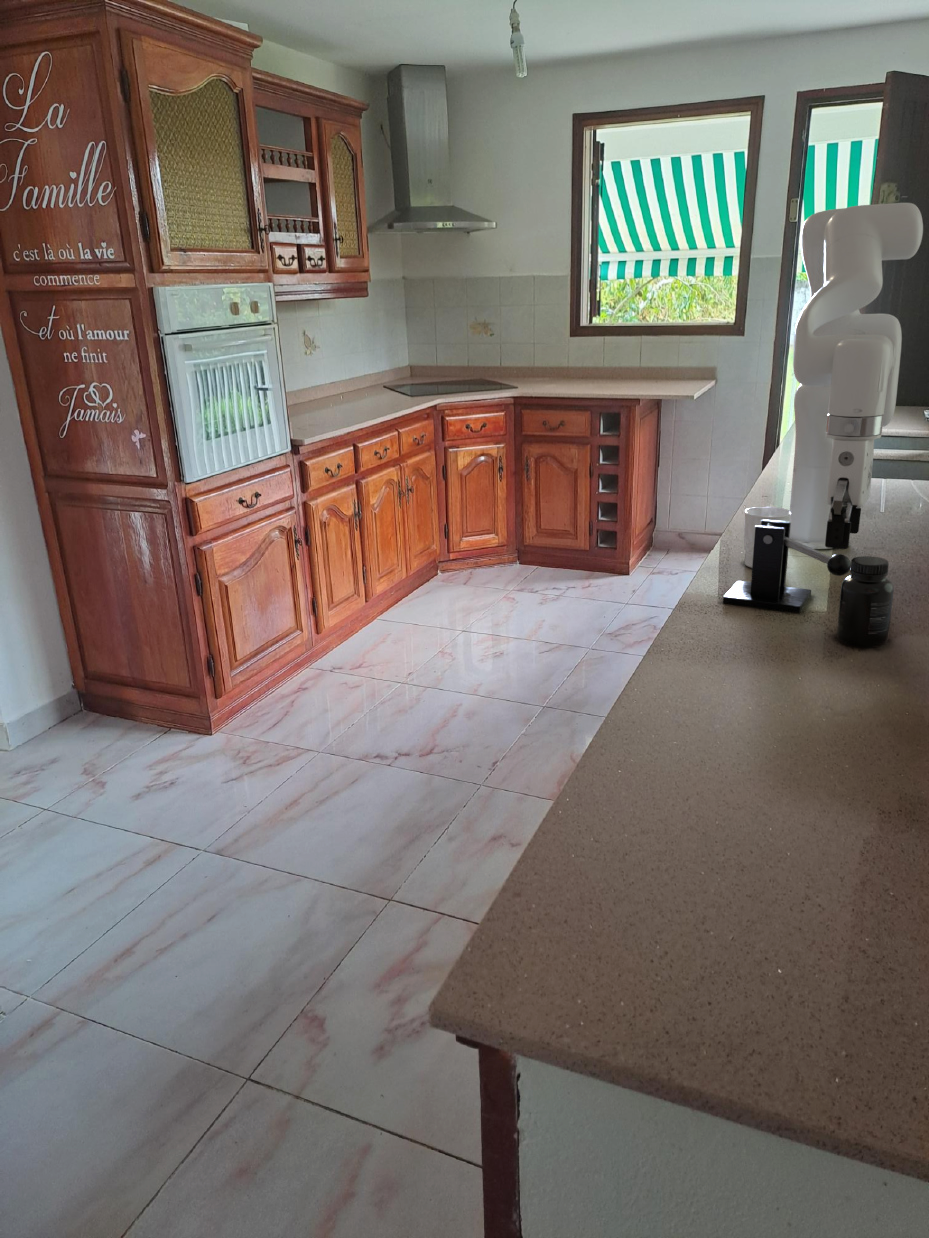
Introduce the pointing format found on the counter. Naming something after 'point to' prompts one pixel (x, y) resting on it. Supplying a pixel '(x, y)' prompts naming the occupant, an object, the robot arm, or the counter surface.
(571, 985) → the counter surface
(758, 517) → the white cup
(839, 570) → the tap lever
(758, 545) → the black lever stand
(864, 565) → the supplement bottle
